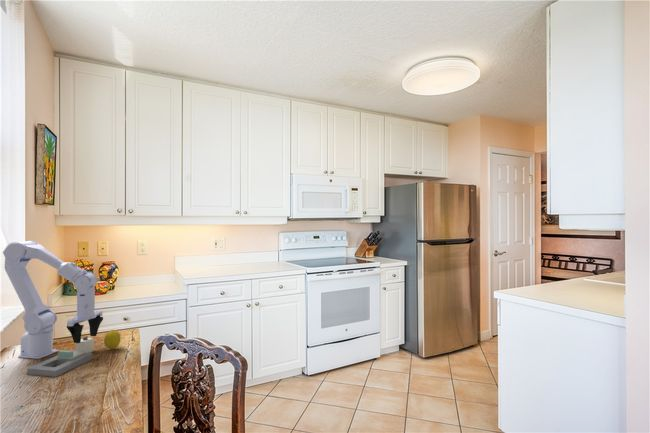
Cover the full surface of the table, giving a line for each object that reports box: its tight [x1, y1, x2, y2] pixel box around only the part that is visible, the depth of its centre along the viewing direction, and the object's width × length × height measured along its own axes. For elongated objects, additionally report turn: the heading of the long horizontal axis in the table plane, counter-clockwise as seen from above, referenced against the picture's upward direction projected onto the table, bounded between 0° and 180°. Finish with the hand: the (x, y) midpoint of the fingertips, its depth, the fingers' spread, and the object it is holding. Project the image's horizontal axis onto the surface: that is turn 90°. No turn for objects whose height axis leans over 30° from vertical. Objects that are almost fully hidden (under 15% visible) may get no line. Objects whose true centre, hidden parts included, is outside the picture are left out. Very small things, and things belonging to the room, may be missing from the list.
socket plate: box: [26, 352, 94, 378], centre depth 121 cm, size 11×15×2 cm
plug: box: [75, 336, 95, 353], centre depth 134 cm, size 4×4×6 cm
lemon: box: [103, 329, 121, 351], centre depth 137 cm, size 6×6×8 cm
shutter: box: [56, 349, 86, 360], centre depth 125 cm, size 6×6×3 cm
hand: (85, 339), depth 134 cm, fingers open, 7 cm apart
